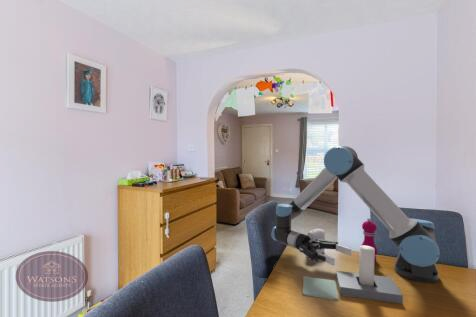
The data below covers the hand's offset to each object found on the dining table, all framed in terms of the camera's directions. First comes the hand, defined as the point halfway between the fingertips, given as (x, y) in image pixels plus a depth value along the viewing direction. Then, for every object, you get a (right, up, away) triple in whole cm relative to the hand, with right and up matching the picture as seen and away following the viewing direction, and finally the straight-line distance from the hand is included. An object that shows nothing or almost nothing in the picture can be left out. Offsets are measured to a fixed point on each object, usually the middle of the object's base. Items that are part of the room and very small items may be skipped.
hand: (342, 256), depth 99 cm
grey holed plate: (+6, -10, -7) cm, 13 cm away
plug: (+6, -10, -7) cm, 13 cm away
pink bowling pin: (+20, -9, +18) cm, 28 cm away
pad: (-11, -10, -5) cm, 16 cm away
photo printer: (-3, -9, +25) cm, 27 cm away
